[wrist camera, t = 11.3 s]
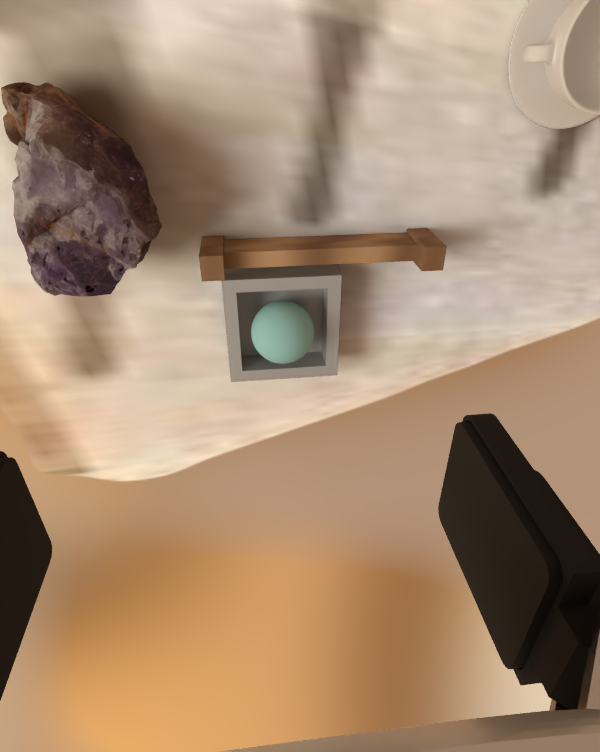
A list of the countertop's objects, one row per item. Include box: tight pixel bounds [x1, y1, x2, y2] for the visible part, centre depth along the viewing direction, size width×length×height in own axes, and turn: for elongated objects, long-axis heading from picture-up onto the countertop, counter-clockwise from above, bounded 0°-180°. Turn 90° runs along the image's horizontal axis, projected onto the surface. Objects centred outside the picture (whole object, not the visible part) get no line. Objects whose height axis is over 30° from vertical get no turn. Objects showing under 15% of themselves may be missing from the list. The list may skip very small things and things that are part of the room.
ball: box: [251, 301, 314, 364], centre depth 40 cm, size 5×5×5 cm
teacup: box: [508, 0, 600, 129], centre depth 32 cm, size 10×10×5 cm
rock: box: [1, 82, 162, 296], centre depth 32 cm, size 12×9×10 cm
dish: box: [222, 264, 342, 382], centre depth 41 cm, size 9×9×3 cm
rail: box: [199, 228, 447, 281], centre depth 37 cm, size 18×2×4 cm, turn 90°
